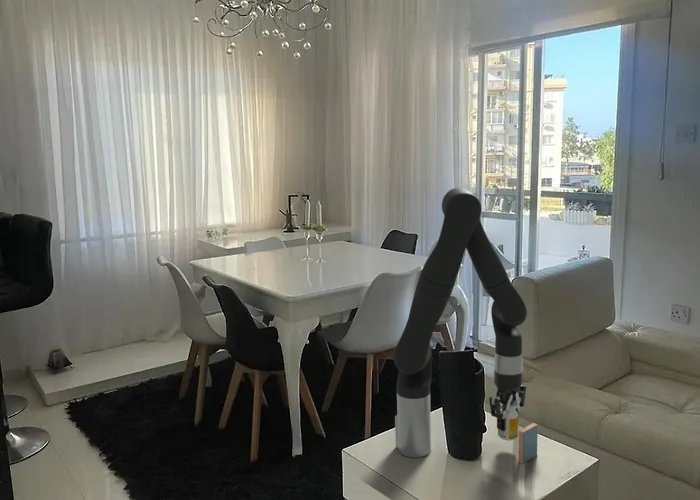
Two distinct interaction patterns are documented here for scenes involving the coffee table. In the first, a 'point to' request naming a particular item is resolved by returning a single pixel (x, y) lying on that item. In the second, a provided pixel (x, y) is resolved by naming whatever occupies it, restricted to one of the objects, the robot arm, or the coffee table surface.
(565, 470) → the coffee table surface
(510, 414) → the supplement bottle
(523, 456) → the tile
